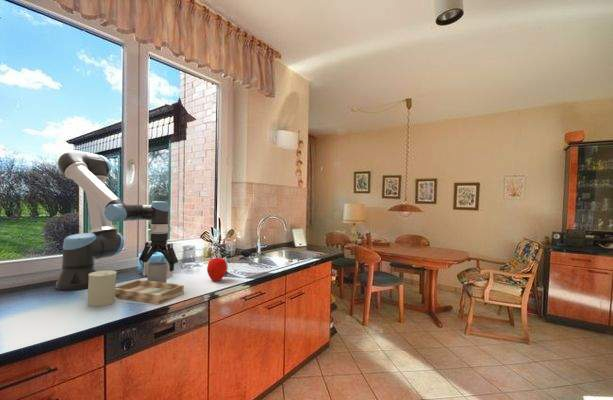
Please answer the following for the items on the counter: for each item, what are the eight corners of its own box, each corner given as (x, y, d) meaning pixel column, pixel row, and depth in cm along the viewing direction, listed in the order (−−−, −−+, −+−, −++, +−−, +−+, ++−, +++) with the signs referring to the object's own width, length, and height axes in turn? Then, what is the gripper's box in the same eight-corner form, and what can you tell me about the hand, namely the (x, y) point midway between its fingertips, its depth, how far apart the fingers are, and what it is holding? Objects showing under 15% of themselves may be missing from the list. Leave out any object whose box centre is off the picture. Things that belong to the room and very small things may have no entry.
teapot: (132, 274, 155) (133, 250, 155) (161, 269, 168) (162, 247, 168) (149, 280, 145) (150, 255, 145) (178, 275, 158) (179, 251, 158)
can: (93, 308, 107) (95, 276, 107) (82, 302, 112) (84, 272, 112) (120, 301, 115) (121, 271, 115) (108, 296, 120) (110, 268, 120)
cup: (158, 287, 135) (159, 266, 135) (142, 285, 136) (143, 264, 137) (170, 282, 143) (171, 262, 143) (155, 281, 145) (156, 261, 145)
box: (110, 296, 120) (110, 288, 120) (139, 286, 134) (139, 279, 134) (158, 304, 114) (159, 295, 114) (183, 293, 129) (184, 285, 129)
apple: (215, 284, 144) (216, 259, 144) (202, 280, 149) (203, 257, 149) (230, 280, 153) (231, 257, 153) (216, 276, 158) (217, 254, 158)
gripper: (131, 232, 139) (130, 276, 139) (176, 234, 133) (174, 280, 133) (144, 230, 147) (142, 272, 146) (186, 233, 141) (185, 276, 140)
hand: (157, 276), depth 140 cm, fingers open, 13 cm apart
